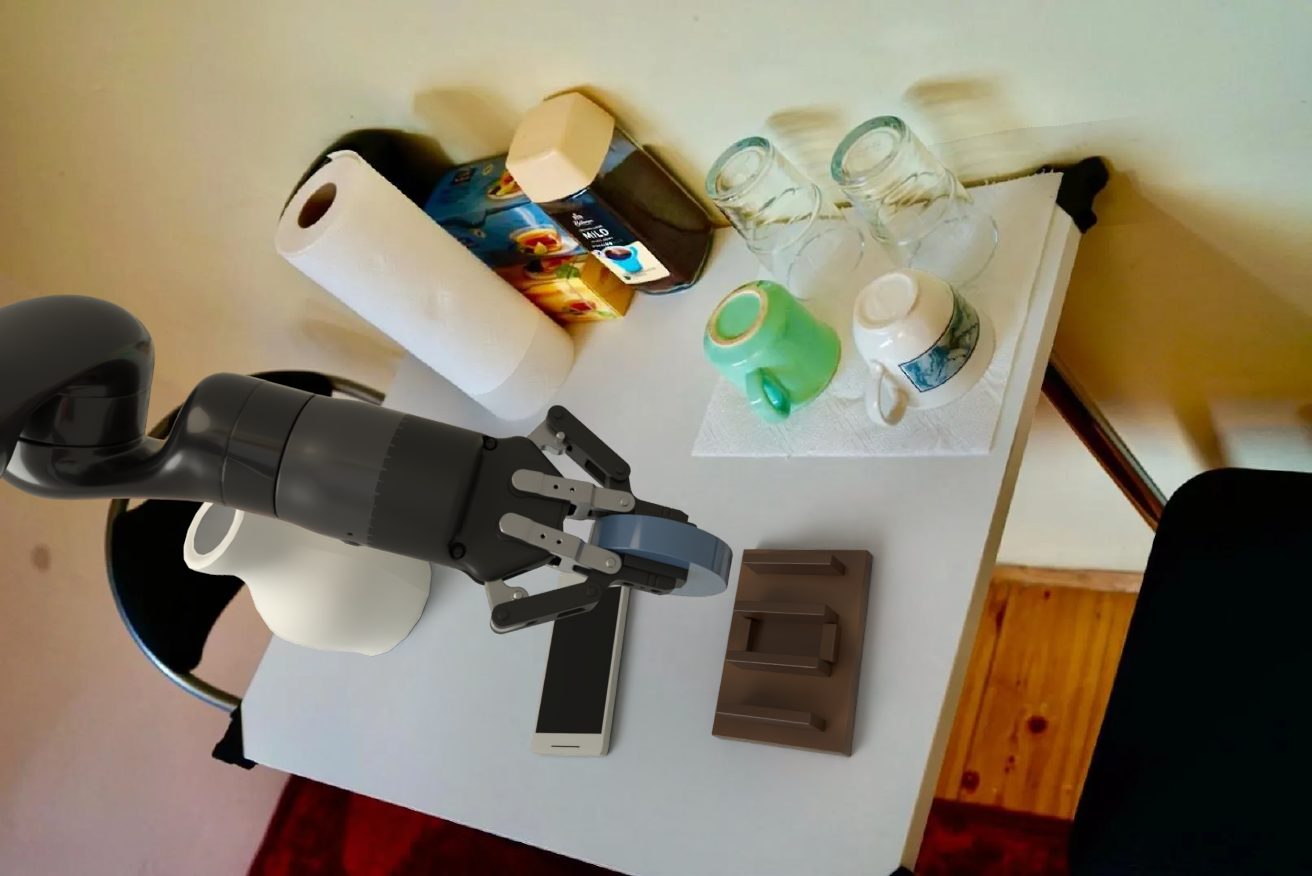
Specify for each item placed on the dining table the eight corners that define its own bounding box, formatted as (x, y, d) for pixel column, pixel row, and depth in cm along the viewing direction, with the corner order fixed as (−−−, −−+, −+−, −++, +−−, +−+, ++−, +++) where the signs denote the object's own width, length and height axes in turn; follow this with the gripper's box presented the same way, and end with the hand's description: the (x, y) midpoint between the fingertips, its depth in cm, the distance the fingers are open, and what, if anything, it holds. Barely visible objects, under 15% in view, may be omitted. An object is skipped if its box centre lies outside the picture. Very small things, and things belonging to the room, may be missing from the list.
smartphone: (633, 565, 75) (626, 562, 75) (607, 757, 68) (600, 754, 68) (566, 572, 79) (560, 569, 78) (536, 755, 72) (528, 753, 71)
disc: (752, 599, 52) (678, 547, 46) (635, 595, 57) (554, 548, 51) (758, 566, 53) (686, 511, 47) (642, 565, 58) (562, 515, 51)
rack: (850, 757, 59) (828, 746, 56) (719, 738, 64) (693, 728, 62) (873, 555, 64) (854, 537, 62) (750, 554, 70) (728, 537, 67)
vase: (453, 525, 91) (290, 438, 76) (419, 666, 84) (233, 599, 70) (360, 538, 98) (195, 461, 84) (322, 669, 92) (136, 609, 77)
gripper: (332, 586, 42) (682, 670, 44) (420, 338, 48) (727, 423, 50) (349, 615, 49) (651, 687, 51) (424, 395, 55) (694, 468, 57)
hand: (687, 556), depth 51 cm, fingers closed on disc, 2 cm apart
